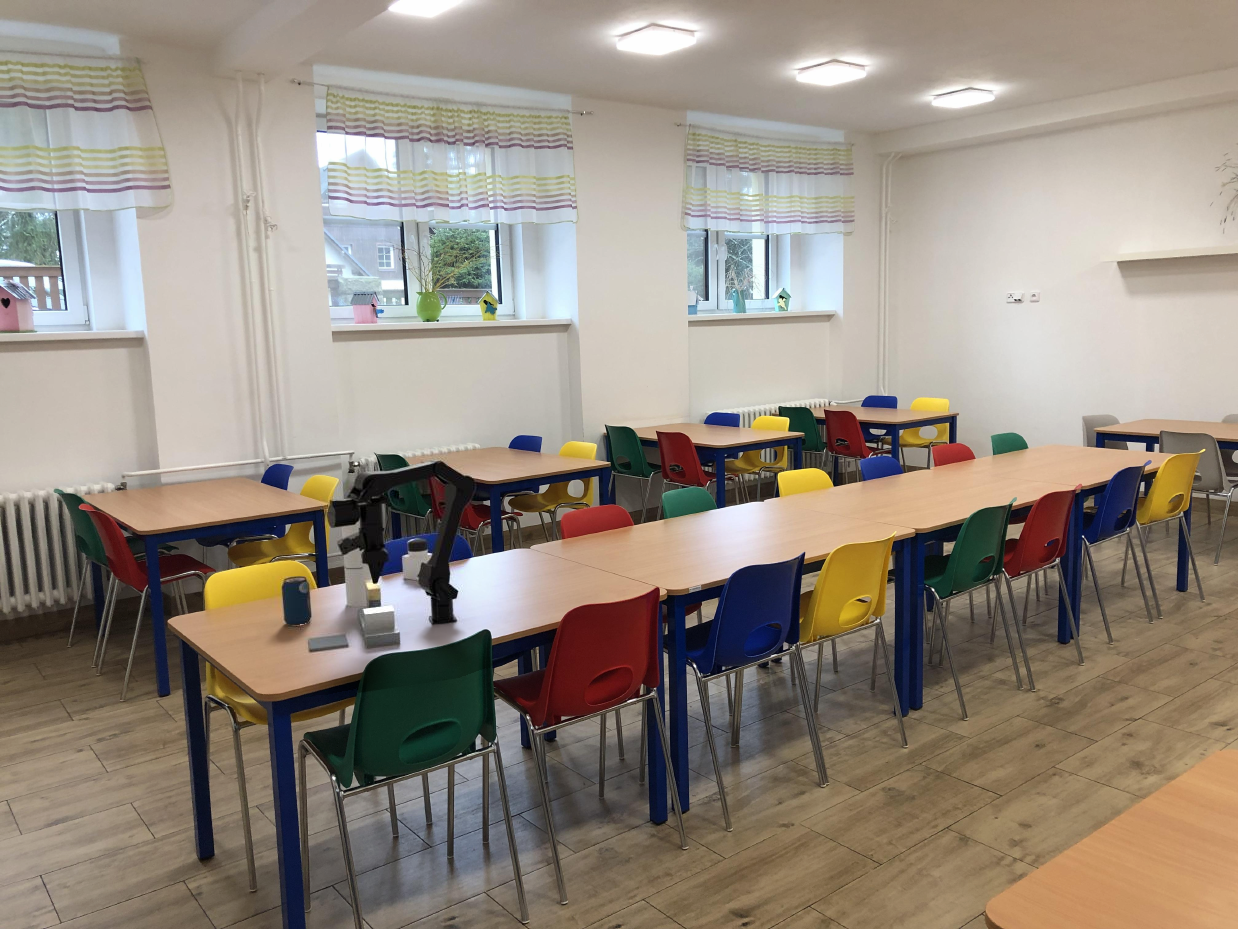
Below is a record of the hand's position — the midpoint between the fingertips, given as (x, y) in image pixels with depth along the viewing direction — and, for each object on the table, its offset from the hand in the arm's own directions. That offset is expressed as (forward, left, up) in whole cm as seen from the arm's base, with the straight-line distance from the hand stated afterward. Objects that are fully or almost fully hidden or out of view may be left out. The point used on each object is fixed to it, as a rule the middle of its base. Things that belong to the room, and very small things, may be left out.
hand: (375, 583), depth 240 cm
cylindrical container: (-32, -2, -13) cm, 35 cm away
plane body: (-2, 0, -13) cm, 13 cm away
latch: (-11, 0, -6) cm, 12 cm away
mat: (+3, -12, -13) cm, 18 cm away
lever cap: (+3, 0, -10) cm, 10 cm away
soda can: (-19, -19, -13) cm, 30 cm away
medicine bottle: (-55, +18, -13) cm, 60 cm away
